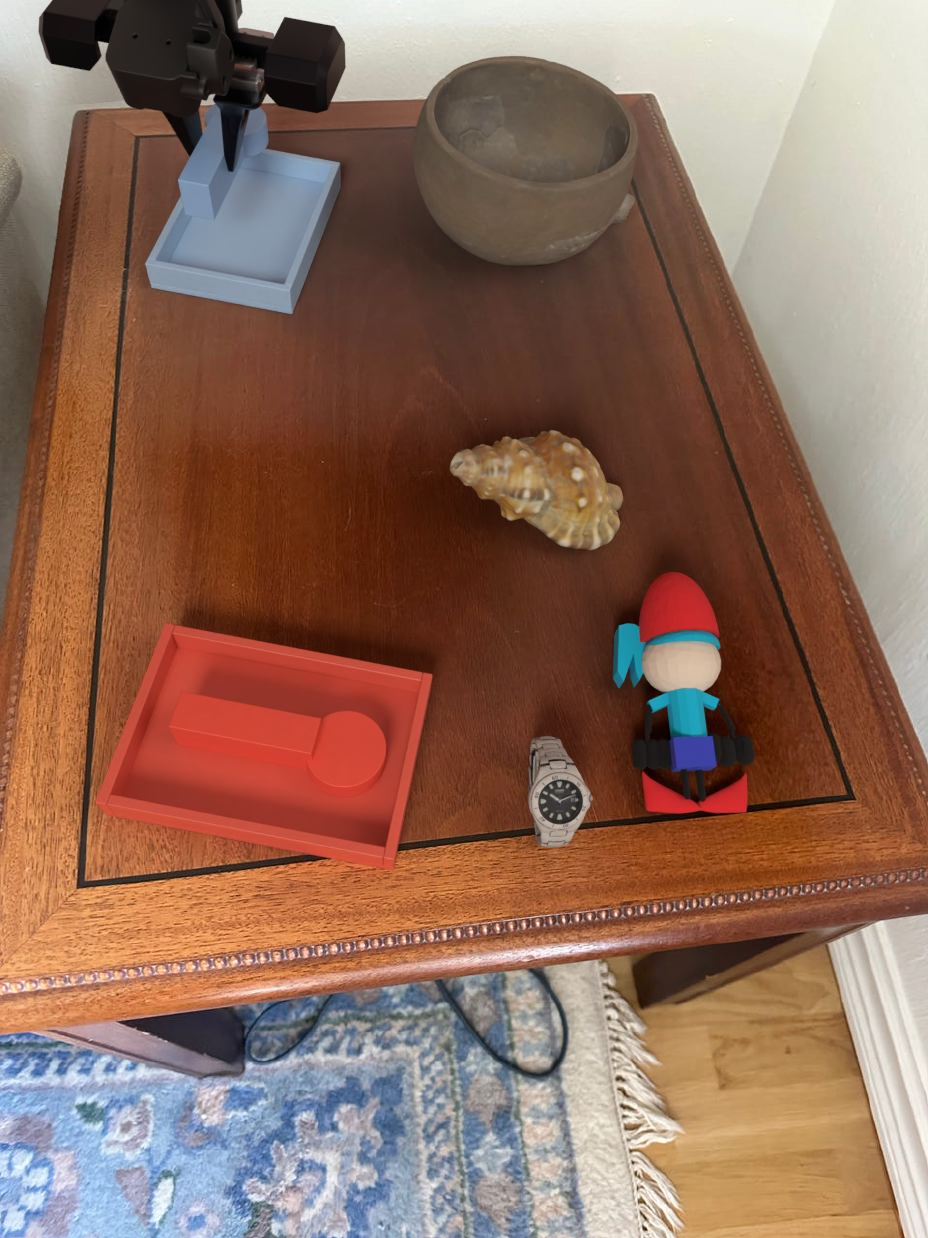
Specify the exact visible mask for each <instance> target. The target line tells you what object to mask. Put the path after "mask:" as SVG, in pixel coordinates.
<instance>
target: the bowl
mask: <svg viewBox="0 0 928 1238" xmlns="http://www.w3.org/2000/svg"><path fill="white" fill-rule="evenodd" d="M414 130H415V131H414V133H413V134H414V135H413V139H412V140H413V141H412V149H411V150H412V151H411V152H412V154H411V158H412V166H413V172H414V177H415V180H416V181H415V182H416V184H417V187H418V190H419V193H420V196H421V198H422V200H423V202H424V205H425V207H426V209H427V211H428V212H429V214H430V215H431V218H432V219H433V221H434V222H435V223H436V225H437V226H438V227H439V228H440V229H441V231H443V233H444V234H445V235H446V236H447V237H448V238H449V239H450V240H452V242H454V243H455V244H457V245H458V246H459V247H460V248H462V249H463V250H465V251H466V252H468V253H470V254H471V255H473V256H475V257H477V258H480V259H481V260H485V261H486V262H489V263H492V264H495V265H496V264H497V265H503V266H518V267H523V266H524V267H525V266H539V265H549V264H554V263H558V262H561V261H563V260H567V259H569V258H572V257H575V256H576V255H578V254H580V253H582V252H583V251H585V250H587V249H589V248H590V246H591V245H592V244H593V243H594V242H596V241H597V240H598V239H599V238H600V237H602V236H603V234H604V233H605V232H606V231H607V229H608V228H609V227H610V225H612V224H613V225H621V224H623V223H625V221H626V220H627V218H628V216H629V212H630V210H631V209H632V208H633V207H634V205H635V203H636V202H635V201H636V199H635V196H634V195H632V194H630V193H628V191H629V188H630V186H631V183H632V179H633V176H634V173H635V172H634V171H635V166H636V162H637V155H638V148H639V133H638V126H637V121H636V119H635V117H634V115H633V114H632V111H631V110H630V108H629V107H628V105H626V104H625V102H624V100H622V99H621V97H619V96H618V95H617V94H616V92H615V91H613V90H611V88H609V86H606V84H604V83H602V82H601V81H599V80H597V79H596V78H594V77H592V76H590V75H588V74H586V73H585V72H582V71H580V70H578V69H576V68H573V67H570V66H568V65H566V64H562V63H558V62H556V61H551V60H547V59H544V58H539V57H533V56H526V55H503V56H493V57H487V58H486V57H485V58H481V59H477V60H474V61H470V62H468V63H465V64H463V65H460V66H458V67H456V68H454V69H453V70H451V72H449V73H448V74H446V75H445V76H444V78H441V79H440V80H439V81H438V82H437V83H436V84H435V85H434V86H433V87H432V89H431V90H430V92H429V93H428V95H427V97H426V99H425V101H424V103H423V105H422V107H421V111H420V113H419V115H418V118H417V122H416V125H415V129H414Z"/></svg>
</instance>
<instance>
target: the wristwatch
mask: <svg viewBox="0 0 928 1238" xmlns="http://www.w3.org/2000/svg"><path fill="white" fill-rule="evenodd" d="M528 758H529V759H528V761H529V766H528V767H527V772H528V783H529V784H528V786H527V787H528V789H527V790H528V798H527V803H528V808H529V812H530V813H531V815H532V818H533V819H532V820H533V829H534V834H535V840H536V843H537V844H538V845H539V847H544V848H548V849H556V848H560V847H565V846H567V845H569V843H570V842H571V841H572V839H573V837H574V835H575V832H576V831H577V830H578V829H579V827H580V826H581V824H582V822H583V821H584V818H585V816H586V814H587V812H588V810H589V809H590V807H591V802H592V801H593V800H594V797H593V795H592V794H591V790H590V789H589V788H588V787H587V785H586V782H585V781H584V779H583V777H582V775H581V773H580V772H579V770H578V768H577V767H576V765H575V762H574V761H573V759H572V758H571V757H570V756H569V755H568V753H567V750H566V749H565V748H564V745H563V743H562V740H561V738H559V737H554V736H552V735H545V736H540V737H534V738H532V740H531V742H530V748H529V756H528Z"/></svg>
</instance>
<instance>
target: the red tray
mask: <svg viewBox="0 0 928 1238" xmlns="http://www.w3.org/2000/svg"><path fill="white" fill-rule="evenodd" d="M433 677H434V674H433V673H429V672H422V671H418V670H412V669H409V668H404V667H397V666H393V665H387V664H383V663H382V664H381V663H377V662H372V661H366V660H360V659H356V658H351V657H345V656H339V655H334V654H330V653H325V652H320V651H313V650H308V649H303V648H297V647H293V646H288V645H282V644H278V643H272V642H267V641H263V640H262V641H261V640H256V639H251V638H245V637H241V636H236V635H230V634H225V633H220V632H215V631H210V630H204V629H198V628H194V627H189V626H183V625H177V624H173V623H168V622H165V623H164V625H163V627H162V630H161V632H160V634H159V638H158V640H157V643H156V645H155V648H154V650H153V653H152V656H151V658H150V661H149V663H148V666H147V669H146V671H145V673H144V677H143V679H142V681H141V683H140V686H139V689H138V692H137V694H136V697H135V699H134V702H133V704H132V707H131V709H130V712H129V715H128V718H127V720H126V723H125V725H124V728H123V730H122V732H121V735H120V738H119V741H118V743H117V746H116V748H115V751H114V753H113V755H112V758H111V761H110V764H109V766H108V768H107V772H106V774H105V776H104V779H103V781H102V784H101V786H100V790H99V792H98V794H97V797H96V800H95V803H96V804H97V807H99V808H100V809H101V810H102V812H103V813H104V814H105V815H106V816H109V817H116V818H120V819H125V820H130V821H136V822H139V823H146V824H150V825H156V826H161V827H167V828H172V829H177V830H181V831H188V832H192V833H197V834H201V835H202V834H203V835H208V836H213V837H219V838H222V839H227V840H234V841H239V842H243V843H248V844H254V845H259V846H264V847H270V848H275V849H280V850H285V851H289V852H296V853H301V854H306V855H311V856H316V857H320V858H325V859H326V858H327V859H332V860H337V861H342V862H347V863H353V864H358V865H363V866H366V867H367V866H369V867H373V868H378V869H384V870H389V871H394V870H395V865H396V860H397V854H398V849H399V845H400V841H401V836H402V832H403V827H404V821H405V816H406V812H407V807H408V803H409V798H410V794H411V788H412V784H413V778H414V774H415V769H416V764H417V759H418V754H419V749H420V745H421V740H422V735H423V730H424V726H425V721H426V717H427V711H428V706H429V702H430V701H429V700H430V696H431V692H432V684H433ZM181 691H183V692H188V693H193V694H199V695H204V696H209V697H214V698H219V699H225V700H230V701H235V702H240V703H245V704H250V705H256V706H261V707H266V708H271V709H276V710H282V711H287V712H292V713H297V714H302V715H308V716H313V717H318V718H323V717H324V716H326V715H328V714H331V713H334V712H338V711H355V712H359V713H362V714H364V715H366V716H368V717H370V718H371V719H372V720H374V721H375V722H376V723H377V724H378V726H379V727H380V728H381V730H382V732H383V734H384V736H385V740H386V765H385V769H384V772H383V774H382V776H381V778H380V779H379V781H378V782H377V783H376V784H375V785H374V786H373V787H372V788H371V789H369V790H368V791H366V792H364V793H362V794H360V795H357V796H353V797H337V796H333V795H330V794H328V793H326V792H324V791H322V790H321V789H320V788H318V787H317V786H316V785H315V784H314V782H313V781H312V780H311V778H310V776H309V774H308V771H307V770H305V769H300V768H295V767H289V766H284V765H279V764H274V763H269V762H264V761H258V760H253V759H248V758H243V757H238V756H232V755H227V754H222V753H217V752H212V751H207V750H201V749H196V748H191V747H186V746H181V745H178V744H177V742H176V740H175V738H174V736H173V734H172V732H171V730H170V728H169V723H170V721H171V718H172V715H173V712H174V710H175V707H176V704H177V701H178V699H179V696H180V693H181Z"/></svg>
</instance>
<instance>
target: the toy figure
mask: <svg viewBox="0 0 928 1238" xmlns="http://www.w3.org/2000/svg"><path fill="white" fill-rule="evenodd" d="M718 625H719V624H718V622H717V618H716V615H715V612H714V609H713V607H712V605H711V603H710V600H709V598H708V597H707V595H706V594H705V592H704V590H703V589H702V588H701V587H700V586H699V584H698V583H697V582H696V581H695V580H694V579H692V578H691V577H689V576H688V575H687V574H684V573H682V572H677V571H669V572H665V573H662V574H661V575H659V576H658V577H656V578H655V579H654V580H653V582H652V583H651V584H650V586H649V587H648V589H647V590H646V593H645V595H644V598H643V600H642V603H641V608H640V611H639V619H638V624H635V623H624V624H620V625H618V627H617V629H616V631H615V633H614V635H613V636H614V637H613V663H612V679H613V681H614V683H615V685H616V686H617V688H618V689H620V688H621V686H622V685H623V683H624V682H625V679H626V676H627V673H628V670H629V678H630V681H631V684H632V687H633V688H635V687H636V686H637V684H638V683H639V681H640V680H641V678H642V676H643V675H644V677H645V679H646V681H647V682H648V684H650V686H652V687H653V688H654V689H656V690H657V691H659V692H660V693H662V694H661V695H658V696H656V697H654V698H652V699H649V700H648V701H647V702H646V705H645V715H644V716H645V717H644V729H643V730H644V739H641V738H636V739H634V740H633V741H632V744H631V753H632V766H633V767H634V769H636V770H638V771H642V773H641V777H642V789H643V790H642V791H643V799H644V806H645V810H646V812H651V813H662V814H689V813H695V812H699V811H702V812H706V813H712V814H736V813H737V814H739V813H740V814H741V813H747V809H748V795H749V794H748V774H747V772H744V774H743V775H742V776H741V777H740V778H738V780H736V781H734V782H732V783H731V784H730V785H727V786H726V787H724V788H721V789H719V790H718V791H715V792H713V793H712V794H709V795H707V794H706V786H705V780H704V771H705V772H707V771H712V770H713V769H715V768H717V766H718V765H717V764H719V765H720V766H722V767H723V768H730V767H733V766H734V765H735V764H736V762H737V763H738V764H739V765H741V766H749V765H751V764H753V762H754V761H755V759H756V753H755V747H754V742H753V739H752V738H751V736H749V735H748V734H747V735H746V734H739V735H737V736H736V733H735V731H736V730H737V728H736V726H735V724H734V721H732V719H731V716H730V715H729V714H728V712H727V711H728V710H726V708H725V706H724V705H723V702H722V701H720V698H718V697H715V696H714V695H711V694H709V693H707V692H705V691H707V690H708V689H709V688H711V687H712V686H713V685H714V684H715V682H716V681H717V679H718V677H719V675H720V672H721V670H722V659H721V655H720V652H719V650H720V649H721V643H720V640H719V638H720V631H719V626H718ZM666 707H667V716H668V725H669V732H670V733H669V734H670V740H669V739H667V738H660V739H658V740H656V739H650V734H652V731H653V729H652V728H653V713H656V712H658V711H660V710H662V709H664V708H666ZM705 708H707V709H708V710H711V711H715V710H716V708H718V710H719V712H720V714H721V715H722V717H723V719H724V721H725V723H726V724H727V726H728V728H729V735H730V736H725V735H724V736H719V735H718V734H717V733H715V732H708V729H707V722H706V714H705ZM646 768H649V769H650V770H652V771H653V770H654V771H655V770H658V769H661V770H668V769H669V768H670V772H671V773H676V772H677V773H678V772H679V773H680V776H681V777H680V778H681V784H682V794H681V793H679V792H676V791H674V790H672V789H671V788H668V787H666V786H665V785H663V784H661V783H659V782H658V781H656V780H654V779H653V778H651V777H650V776H648V774H646V773H645V772H644V771H643V770H644V769H646ZM688 772H695V776H696V785H697V792H698V799H699V800H698V801H697V802H696V801H694V800H692V799H691V797H692V795H691V790H690V789H691V788H690V782H689V781H690V780H689V773H688Z"/></svg>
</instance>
